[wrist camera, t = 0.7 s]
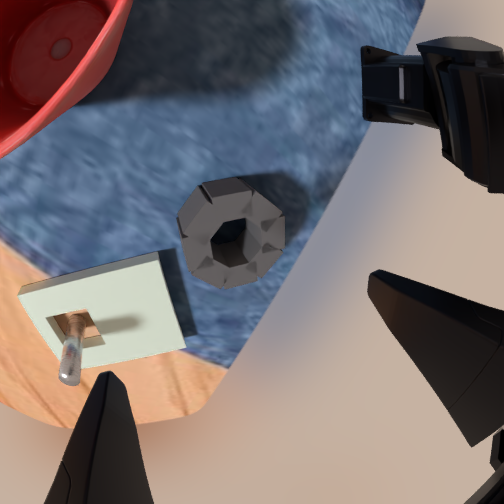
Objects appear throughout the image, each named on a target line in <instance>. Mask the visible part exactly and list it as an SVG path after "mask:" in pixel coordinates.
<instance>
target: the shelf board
mask: <svg viewBox="0 0 504 504" xmlns="http://www.w3.org/2000/svg"><path fill="white" fill-rule="evenodd" d="M17 296H18V298H19V300H20V302H21V303H22V305H23V307H24V309H25V310H26V312H27V314H28V315H29V317H30V319H31V320H32V322H33V323H34V325H35V326H36V328H37V330H38V331H39V333H40V334H41V336H42V337H43V339H44V340H45V341H46V343H47V344H48V346H49V347H50V349H51V350H52V351H53V353H54V354H55V355H56V357H57V358H58V359H59V361H60V362H61V357H62V351H63V345H64V340H65V335H64V333H63V332H62V330H61V328H60V327H59V325H58V324H57V322H56V320H55V319H54V317H53V316H54V315H59V314H63V313H68V312H72V311H77V310H81V309H87V311H88V313H89V315H90V316H91V318H92V320H93V322H94V324H95V326H96V327H97V329H98V331H99V333H100V334H101V335H100V336H96V337H91V338H86V339H84V343H83V352H82V362H81V369H84V368H90V367H96V366H102V365H107V364H113V363H118V362H123V361H128V360H133V359H138V358H143V357H147V356H152V355H156V354H161V353H165V352H169V351H174V350H178V349H182V348H186V344H185V340H184V336H183V334H182V331H181V328H180V325H179V322H178V319H177V316H176V313H175V309H174V306H173V303H172V300H171V297H170V293H169V290H168V287H167V283H166V280H165V277H164V273H163V270H162V266H161V262H160V259H159V255H158V251H157V252H153V253H149V254H145V255H141V256H137V257H133V258H129V259H125V260H121V261H117V262H113V263H109V264H105V265H101V266H97V267H93V268H89V269H85V270H81V271H78V272H74V273H70V274H66V275H62V276H59V277H55V278H51V279H48V280H44V281H40V282H37V283H33V284H29V285H26V286H22V287H21V289H20V291H19V293H18V295H17Z"/></svg>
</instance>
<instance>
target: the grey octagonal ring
mask: <svg viewBox="0 0 504 504" xmlns="http://www.w3.org/2000/svg"><path fill="white" fill-rule="evenodd" d="M282 213H283V212H282V211H281V210H280V209H278V208H277V207H276V206H275V205H274V204H272V203H271V202H270V201H269V200H267V199H266V198H265V197H264V196H263V195H261V194H260V193H259V192H257V191H256V190H255V189H254V188H252V187H251V186H250V185H248V184H247V183H246V182H244V181H243V180H242V179H241V178H239V180H238V179H237V178H236V177H232V178H226V179H221V180H215V181H210V182H204V183H202V188H200V187H199V186H197V187H196V188H195V190H194V191H193V192H192V194H191V195H190V197H189V198H188V199H187V201H186V202H185V203H184V205H183V206H182V208H181V209H180V210H179V212H178V213H177V214H178V218H176V219H177V224H178V229H179V234H180V239H181V243H182V248H183V252H184V255H185V259H186V263H187V266H188V270H189V272H190V271H191V274H192V275H193V276H195V277H197V278H199V279H201V280H203V281H205V282H207V283H209V284H211V285H213V286H215V287H217V288H219V289H221V288H222V287H223V286H224V288H225V289H229V288H233V287H236V286H240V285H244V284H248V283H251V282H255V281H258V280H257V276H258V277H260V278H262V277H263V276H264V275H265V274H266V272H267V271H268V270H269V269H270V268H271V267H272V265H273V264H274V263H275V262H276V261H277V259H278V258H279V257H280V256H281V255H282V253H283V251H282V250H281V249H283V248H285V216H284V215H283V214H282ZM241 218H245V221H246V227H245V229H244V230H243V231H242V233H241V234H240V235H239V236H238V238H237V239H236V240H235V241H232V242H228V243H224V244H219V245H217V244H215V243H213V242H212V241H210V239H211V238H212V237H213V235H214V234H215V233H216V231H217V230H218V229H219V227H220V226H221V225H222V223H223V222H226V221H231V220H236V219H241Z"/></svg>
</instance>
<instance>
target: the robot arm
mask: <svg viewBox="0 0 504 504" xmlns="http://www.w3.org/2000/svg"><path fill="white" fill-rule="evenodd" d="M416 45H417V48H418V51H419V52H420V53H421V56H420V55H419V56H418V55H399V54H396V53H393V52H389V51H386V50H383V49H379V48H375V47H372V46H362V47H361V66H362V98H363V118H364V120H366V121H371V122H387V123H399V124H410V125H413V124H414V123H416V124H420V125H425V126H428V127H432V128H436V129H439V130H440V135H441V140H442V155H443V157H445V158H446V159H447V160H449V161H450V162H451V163H452V164H454V165H455V166H456V167H458V168H459V169H460V170H461V171H463V172H464V175H465V176H466V177H467V178H468V179H470V180H472V181H474V182H476V183H478V184H480V185H482V186H484V187H487V188H488V192H489V193H503V194H504V52H503V49H502V48H501V47H498V46H496V45H493V44H490V43H487V42H485V41H482V40H478V39H476V38H472V37H443V38H438V39H434V40H430V41H426V42H422V43H419V44H416ZM366 50H367V52H368V53H367V52H366ZM368 114H369V117H368ZM367 290H368V291H367V292H368V296H369V298H370V299H371V301H372V303H373V304H374V306H375V307H376V309H377V311H378V312H379V314H380V315H381V317H382V319H383V320H384V322H385V324H386V325H387V327H388V328H389V330H390V331H391V332H392V334H393V335H394V336H395V338H396V339H397V340H398V342H399V343H400V344H401V346H402V347H403V348H404V350H405V351H406V352H407V354H408V355H409V356H410V358H411V359H412V361H413V362H414V363H415V365H416V366H417V367H418V369H419V370H420V372H421V373H422V374H423V376H424V377H425V378H426V380H427V381H428V383H429V384H430V386H431V387H432V388H433V390H434V391H435V393H436V394H437V396H438V397H439V399H440V400H441V402H442V403H443V405H444V406H445V408H446V409H447V410H448V412H449V414H450V415H451V417H452V418H453V420H454V421H455V423H456V424H457V426H458V428H459V429H460V431H461V432H462V434H463V435H464V437H465V439H466V440H467V442H468V444H469V445H470V446H471V447H473V446H475V445H476V444H478V443H479V442H481V441H482V440H484V439H485V438H487V437H488V436H490V435H491V434H492V433H494V432H495V431H496V430H498V429H499V428H500V429H499V430H498V431H497V432H496V433H495V434H494V436H493V441H492V450H491V457H490V464H491V465H492V467H493V468H494V470H495V473H494V474H493V475H492V476H491V477H490V478H489V479H488V480H487V481H486V482H485V483H484V484H483V485H482V486H481V487H480V489H478V490H477V492H475V493H474V494H473V495H472V496H471V497H470V498H469V499H468V500H467V501H466V502H465V503H464V504H504V311H503V310H499V309H496V308H493V307H489V306H486V305H483V304H480V303H477V302H474V301H471V300H467V299H466V298H463V297H460V296H457V295H454V294H452V293H449V292H446V291H443V290H440V289H437V288H434V287H431V286H429V285H425V284H423V283H420V282H417V281H414V280H411V279H408V278H405V277H402V276H399V275H396V274H393V273H390V272H387V271H384V270H380V269H379V270H376V271H374V272H372V273H371V274H370V275H369V281H368V289H367ZM44 504H154V502H153V499H152V495H151V491H150V488H149V484H148V480H147V476H146V472H145V468H144V463H143V459H142V454H141V449H140V445H139V439H138V434H137V429H136V425H135V421H134V418H133V414H132V410H131V406H130V403H129V398H128V394H127V390H126V387H125V385H124V384H123V382H122V381H121V380H120V379H119V378H118V377H117V376H116V375H115V374H114V373H113V372H112V371H105V372H102V373H100V374H99V375H98V377H97V379H96V381H95V383H94V385H93V388H92V390H91V392H90V394H89V396H88V398H87V400H86V403H85V405H84V407H83V409H82V412H81V414H80V416H79V418H78V421H77V423H76V425H75V428H74V430H73V433H72V435H71V437H70V440H69V442H68V445H67V447H66V450H65V452H64V455H63V458H62V461H61V463H60V465H59V468H58V471H57V474H56V476H55V479H54V481H53V484H52V486H51V488H50V491H49V493H48V495H47V498H46V500H45V502H44Z"/></svg>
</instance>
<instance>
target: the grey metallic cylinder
mask: <svg viewBox="0 0 504 504" xmlns="http://www.w3.org/2000/svg"><path fill="white" fill-rule="evenodd" d="M85 329H86V320H85V319H84V318H83V317H82V316H80V315H77V314H74V315H71V316H70V317H69V321H68V325H67V330H66V335H65V340H64V345H63V351H62V357H61V363H60V370H59V379H60V381H61V382H63V383H64V384H66V385H69V386H76V385H78V384H79V383H80V373H81V362H82V352H83V343H84V336H85Z"/></svg>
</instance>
